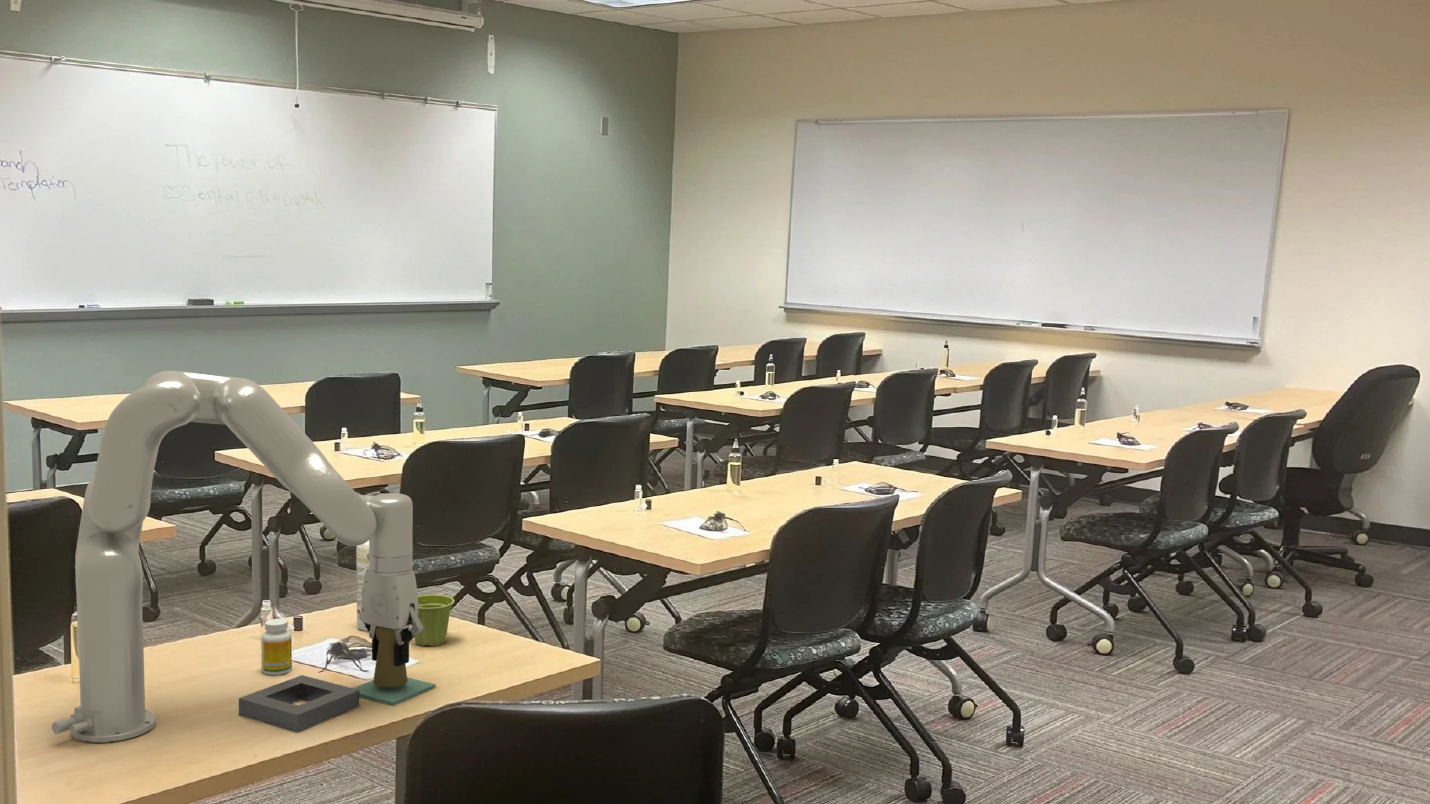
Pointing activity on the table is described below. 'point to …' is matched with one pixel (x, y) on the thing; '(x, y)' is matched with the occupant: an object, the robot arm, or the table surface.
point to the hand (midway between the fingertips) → (390, 660)
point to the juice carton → (361, 578)
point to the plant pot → (433, 619)
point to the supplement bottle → (276, 648)
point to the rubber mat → (393, 691)
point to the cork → (388, 661)
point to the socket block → (280, 712)
